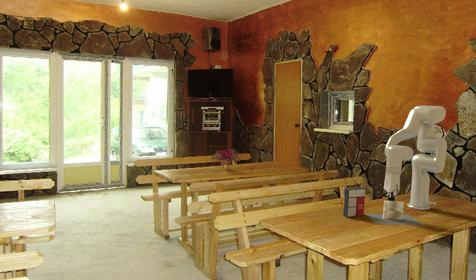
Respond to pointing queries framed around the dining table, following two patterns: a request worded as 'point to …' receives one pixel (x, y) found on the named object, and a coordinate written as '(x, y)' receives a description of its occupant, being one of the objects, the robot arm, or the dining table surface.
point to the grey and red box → (354, 201)
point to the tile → (393, 209)
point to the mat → (394, 220)
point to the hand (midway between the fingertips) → (390, 204)
